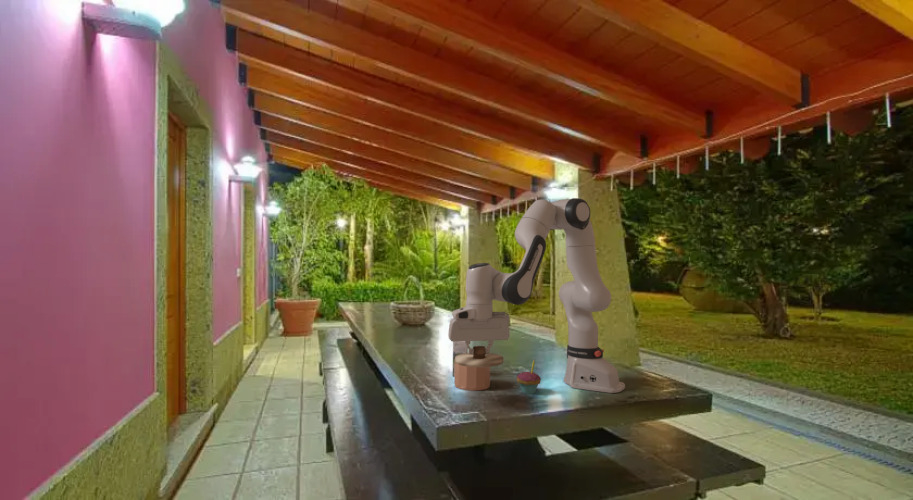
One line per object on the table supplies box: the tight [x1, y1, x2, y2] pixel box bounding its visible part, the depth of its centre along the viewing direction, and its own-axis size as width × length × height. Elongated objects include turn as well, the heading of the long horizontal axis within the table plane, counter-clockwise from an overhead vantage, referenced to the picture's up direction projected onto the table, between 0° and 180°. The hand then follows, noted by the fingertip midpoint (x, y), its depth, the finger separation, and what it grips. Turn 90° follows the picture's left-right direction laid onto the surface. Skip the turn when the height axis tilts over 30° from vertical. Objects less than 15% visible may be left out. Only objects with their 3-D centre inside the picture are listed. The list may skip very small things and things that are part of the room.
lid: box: [455, 345, 504, 368], centre depth 152 cm, size 16×16×5 cm
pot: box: [454, 362, 491, 392], centre depth 171 cm, size 13×13×10 cm
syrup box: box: [451, 341, 469, 378], centre depth 186 cm, size 6×6×14 cm
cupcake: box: [516, 358, 542, 395], centre depth 165 cm, size 9×8×12 cm
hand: (479, 354), depth 152 cm, fingers closed on lid, 4 cm apart
